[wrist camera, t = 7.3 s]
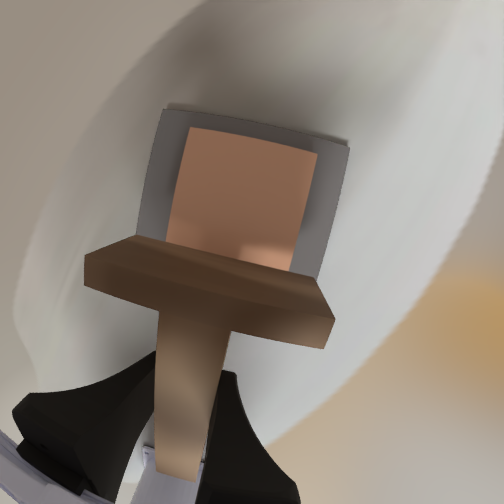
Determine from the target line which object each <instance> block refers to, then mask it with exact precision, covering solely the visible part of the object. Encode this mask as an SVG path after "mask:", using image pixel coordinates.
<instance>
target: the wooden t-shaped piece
mask: <svg viewBox="0 0 504 504" xmlns="http://www.w3.org/2000/svg"><path fill="white" fill-rule="evenodd" d="M84 285H85V286H87V287H90V288H92V289H95V290H98V291H101V292H103V293H106V294H109V295H112V296H114V297H117V298H120V299H123V300H126V301H129V302H132V303H135V304H138V305H141V306H144V307H147V308H151V309H154V310H157V311H159V321H158V333H157V346H156V363H155V389H154V440H155V464H156V472H159V473H162V474H165V475H168V476H172V477H175V478H179V479H182V480H186V481H190V482H194V483H196V478H197V474H198V470H199V466H200V462H201V458H202V453H203V449H204V445H205V441H206V437H207V433H208V428H209V422H210V418H211V413H212V409H213V405H214V400H215V396H216V392H217V387H218V383H219V379H220V375H221V371H222V369H223V364H224V360H225V356H226V352H227V347H228V343H229V339H230V335H231V331H234V332H239V333H243V334H247V335H252V336H256V337H261V338H266V339H270V340H275V341H280V342H286V343H291V344H296V345H302V346H307V347H313V348H319V349H324V347H325V345H326V342H327V340H328V337H329V335H330V332H331V330H332V327H333V325H334V322H335V317H334V315H333V313H332V311H331V309H330V307H329V305H328V304H327V302H326V300H325V298H324V296H323V294H322V292H321V290H320V288H319V286H318V284H317V282H316V281H315V279H314V277H311V276H306V275H302V274H298V273H293V272H289V271H285V270H281V269H276V268H272V267H268V266H264V265H259V264H255V263H251V262H247V261H243V260H238V259H234V258H230V257H226V256H222V255H218V254H214V253H209V252H205V251H201V250H197V249H193V248H189V247H185V246H181V245H177V244H173V243H169V242H165V241H161V240H157V239H153V238H149V237H145V236H141V235H134V236H132V237H129V238H126V239H124V240H121V241H119V242H116V243H113V244H111V245H108V246H106V247H103V248H101V249H98V250H96V251H94V252H91V253H89V254H86V255H85V262H84Z"/></svg>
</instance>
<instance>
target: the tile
mask: <svg viewBox="0 0 504 504" xmlns="http://www.w3.org/2000/svg"><path fill="white" fill-rule="evenodd" d="M317 155H318V154H316V153H313V152H309V151H305V150H302V149H298V148H294V147H290V146H286V145H282V144H278V143H274V142H269V141H265V140H261V139H256V138H251V137H246V136H241V135H236V134H231V133H225V132H219V131H214V130H207V129H201V128H194V127H190V130H189V133H188V137H187V141H186V145H185V149H184V153H183V157H182V161H181V166H180V170H179V174H178V179H177V183H176V188H175V193H174V198H173V203H172V208H171V213H170V219H169V224H168V230H167V236H166V242H169V243H173V244H177V245H181V246H185V247H189V248H193V249H197V250H201V251H205V252H209V253H214V254H218V255H222V256H226V257H230V258H234V259H238V260H243V261H247V262H251V263H255V264H259V265H264V266H268V267H272V268H276V269H281V270H285V271H289V267H290V264H291V260H292V256H293V253H294V249H295V245H296V241H297V238H298V234H299V230H300V226H301V222H302V218H303V214H304V210H305V206H306V202H307V198H308V194H309V190H310V186H311V181H312V177H313V173H314V168H315V164H316V160H317Z"/></svg>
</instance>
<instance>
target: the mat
mask: <svg viewBox="0 0 504 504" xmlns="http://www.w3.org/2000/svg"><path fill="white" fill-rule="evenodd" d="M190 127H194V128H201V129H207V130H214V131H219V132H225V133H231V134H236V135H241V136H246V137H251V138H256V139H261V140H265V141H269V142H274V143H278V144H282V145H286V146H290V147H294V148H298V149H302V150H305V151H309V152H313V153H316V154H318V155H317V160H316V164H315V168H314V173H313V177H312V181H311V186H310V190H309V194H308V198H307V202H306V206H305V210H304V214H303V218H302V222H301V226H300V230H299V234H298V238H297V241H296V245H295V249H294V253H293V256H292V260H291V264H290V267H289V272H293V273H298V274H302V275H306V276H311V277H314V279H315V281H317V278H318V274H319V271H320V267H321V264H322V261H323V257H324V254H325V250H326V247H327V243H328V239H329V236H330V232H331V228H332V224H333V221H334V217H335V213H336V209H337V205H338V201H339V196H340V192H341V188H342V184H343V179H344V175H345V170H346V166H347V161H348V156H349V151H350V147H347V146H344V145H341V144H338V143H335V142H331V141H328V140H325V139H321V138H318V137H315V136H311V135H307V134H304V133H300V132H296V131H292V130H288V129H284V128H280V127H276V126H271V125H267V124H262V123H258V122H253V121H248V120H242V119H237V118H231V117H225V116H219V115H212V114H205V113H198V112H190V111H181V110H171V109H163V111H162V114H161V117H160V121H159V125H158V128H157V132H156V136H155V140H154V143H153V148H152V152H151V156H150V160H149V165H148V169H147V174H146V178H145V183H144V188H143V194H142V199H141V205H140V211H139V217H138V223H137V230H136V235H141V236H145V237H149V238H153V239H157V240H161V241H165V242H166V236H167V230H168V224H169V219H170V213H171V208H172V203H173V198H174V193H175V188H176V183H177V179H178V174H179V170H180V166H181V161H182V157H183V153H184V149H185V145H186V141H187V137H188V133H189V130H190Z"/></svg>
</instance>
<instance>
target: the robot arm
mask: <svg viewBox="0 0 504 504" xmlns="http://www.w3.org/2000/svg"><path fill="white" fill-rule="evenodd" d="M155 363H156V351H153V352H152V353H150V354H149V355H147V356H146V357H144V358H143V359H141V360H139V361H138V362H136V363H135V364H133V365H131V366H130V367H128V368H126V369H125V370H123V371H121V372H119V373H117V374H115V375H113V376H111V377H109V378H107V379H104V380H102V381H100V382H97V383H94V384H91V385H88V386H84V387H80V388H76V389H72V390H66V391H59V392H48V393H29V394H28V395H27V396H26V397H25V398H24V399H23V400H22V401H21V402H20V403H19V404H18V405H17V406H16V407H15V408H14V409H13V410H12V415H13V419H14V421H15V423H16V425H17V427H18V428H19V430H20V432H21V434H22V436H23V438H24V440H23V441H22V442H21V443H20V444H19V445H17V444H16V443H15V442H14V441H13V440H11V439H10V438H9V437H8V436H7V435H6V434H4V433H3V432H2V431H1V430H0V488H2V489H3V490H4V491H5V492H6V493H7V494H8V495H9V496H11V497H12V498H13V499H14V500H15V501H17V502H18V503H19V504H115V501H116V498H117V494H118V491H119V487H120V484H121V482H122V479H123V476H124V473H125V470H126V467H127V464H128V462H129V459H130V456H131V454H132V451H133V449H134V446H135V444H136V442H137V440H138V438H139V436H140V434H141V432H142V430H143V429H144V427H145V425H146V423H147V422H148V420H149V418H150V416H151V415H152V413H153V411H154V389H155ZM142 452H143V461H144V471H143V474H142V476H141V479H140V481H139V483H138V486H137V488H136V491H135V493H134V496H133V498H132V500H131V503H130V504H301V501H300V496H299V492H298V489H297V486H296V483H295V482H294V481H293V480H292V479H290V478H289V477H288V476H287V475H286V474H285V473H284V472H283V471H282V470H281V469H280V467H279V466H278V465H277V464H276V463H275V462H274V461H273V459H272V458H271V457H270V456H269V454H268V453H267V451H266V450H265V449H264V447H263V446H262V444H261V443H260V441H259V439H258V438H257V436H256V434H255V432H254V431H253V429H252V427H251V425H250V423H249V420H248V418H247V416H246V413H245V410H244V408H243V405H242V401H241V398H240V394H239V390H238V385H237V375H236V374H235V373H234V372H230V371H225V370H222V371H221V375H220V379H219V383H218V387H217V392H216V396H215V400H214V405H213V409H212V413H211V418H210V422H209V429H208V438H207V446H206V455H205V461H204V463H202V462H200V466H199V470H198V474H197V478H196V483H194V482H190V481H186V480H182V479H179V478H175V477H172V476H168V475H165V474H162V473H159V472H156V464H155V449H153V448H150V447H148V446H143V448H142Z"/></svg>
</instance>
